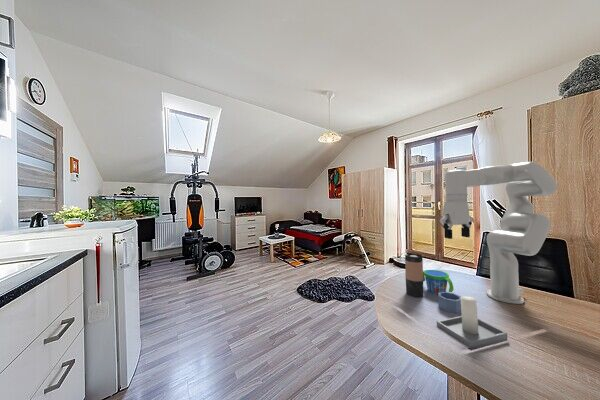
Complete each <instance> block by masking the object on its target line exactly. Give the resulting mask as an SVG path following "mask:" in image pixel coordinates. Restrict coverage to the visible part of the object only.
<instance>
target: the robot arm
mask: <svg viewBox="0 0 600 400" xmlns="http://www.w3.org/2000/svg"><path fill="white" fill-rule="evenodd" d="M444 179H445V182H444V183H445V201H444V204H443V209H442V217H441V218H440V219H439V222H440V224H441V226H442V229H443V231H444V232H443V233H444V234H443V236H444V238H445V239H448V240H452V239H453V229H452V228H453V226H458V225H460V226H461V229H460V231H461V233H460V234H461V235H460V236H461V237H463V238H470V235H471V231H470V229H471V228H472V227H471V226H472V224H473V220H474V218H473V217H472V216H471V215H470V210H469V209H470V208H469V204H468V203H469V202H468V188H473V187H474V188H475V187H481V186H493V185H499V184H506V185H505V192H506V194H507V198H508V201H509V206H508V208H507V209H506V210H505V212H504V214H503V216H502V218H501V221H500V223H499V226H500V228H501V230H500V229H499V230H497V229H496V230H492V231H490V232H489V233H487V236H486V243H487V247H488V250H489V251H488V252H489V266H490V267H489V271H490V275H489V276H490V289H488V290H486V295H487V296H488V297H490V298H491V299H493V300H495V301H499V302H502V303H506V304H511V305H521V304H524V303H525V299H524V298H523V297H522V296H520V294H521V293H522V294H523V293H524V291H525V290H524V289H523V288H522V287H519V286H520V285H519V284H520V283H519V282H520V280H519V261H518V259H517V256H515V255H516V254H517V255H522V256H527V257H528V256H529V257H531V256H534V255H537V254H538V253H539V252H540V250H541V248H542V247H543V245H544V242H545V240H546V238H547V236H548V235H549V232H550V230H551V222H550V219H549V218H548V217H547V216H546V215H544V214H542V213H534V211H535V206H534V204H532V202H531V201H530V200H529V199H528V198H527V197H540V196H541V197H544V196H551V195H552V194H554V193H556V191H557V188H558V186H557V185H558V184H557V182H556V179H554V177H553V176H552V175H551V174H550V173H549V172H548V171H547V170H546V168H544V167H543V166H541V164H539V163H537V162H535V161H524V162H518V163H517V162H516V163H510V164H502V165H501V164H500V165H491V166H485V167H480V168H476V169H469V170H468V169H467V170H464V169H453V170H448V171H446V172H445V175H444Z"/></svg>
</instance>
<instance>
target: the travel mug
mask: <svg viewBox="0 0 600 400" xmlns="http://www.w3.org/2000/svg"><path fill="white" fill-rule="evenodd" d="M404 260H405V263H404V264H405V274H404V275H405V276H404V277H405V292H406V294H407V295H408V296H409V297H413V298H422V297H424V281H423V271H424V263H423V262H424V261H423V255H422V254H418V253H407V254H405V255H404Z"/></svg>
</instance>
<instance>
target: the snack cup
mask: <svg viewBox="0 0 600 400" xmlns="http://www.w3.org/2000/svg"><path fill="white" fill-rule="evenodd" d="M423 282H425V283H426V289H427V291H428V292H429V293H431V294H434V295H438V293H439V292H447V289H448V292H449V293H453V291H454V284H453V282H452V280H451V278H450V276H449V274H448V273H447V272H445V271H442V270H437V269H425V270H423ZM448 286H449V288H448Z"/></svg>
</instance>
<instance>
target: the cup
mask: <svg viewBox="0 0 600 400" xmlns="http://www.w3.org/2000/svg"><path fill="white" fill-rule="evenodd" d="M437 297H438V300H437V301H438V308H439V309H442V310H443V311H444V312H446V313H452V314H461V297H462V296H461V295H459V294H456V293H454V292H449V291H446V292H439V293H438V294H437Z"/></svg>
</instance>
